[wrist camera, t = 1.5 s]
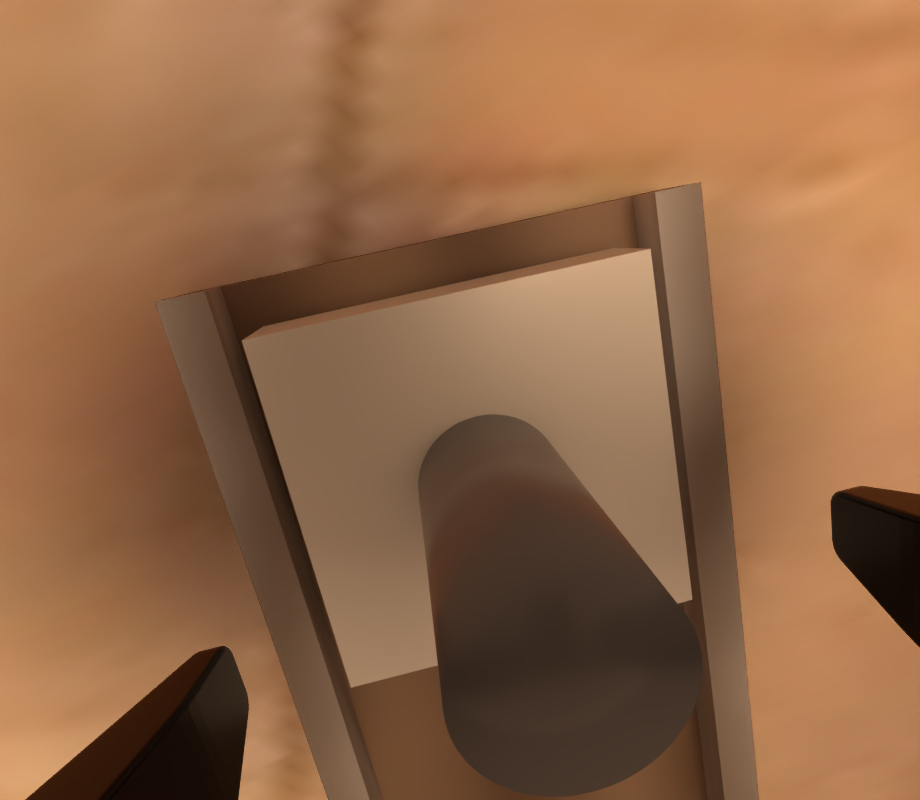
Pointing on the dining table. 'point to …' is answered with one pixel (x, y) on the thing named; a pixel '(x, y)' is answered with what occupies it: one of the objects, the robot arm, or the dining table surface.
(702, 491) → the track
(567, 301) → the carriage
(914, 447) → the dining table surface
